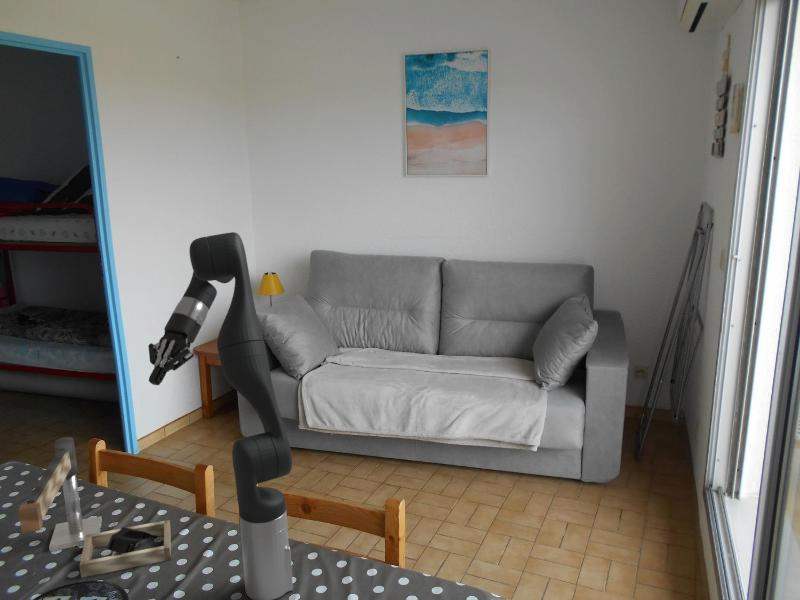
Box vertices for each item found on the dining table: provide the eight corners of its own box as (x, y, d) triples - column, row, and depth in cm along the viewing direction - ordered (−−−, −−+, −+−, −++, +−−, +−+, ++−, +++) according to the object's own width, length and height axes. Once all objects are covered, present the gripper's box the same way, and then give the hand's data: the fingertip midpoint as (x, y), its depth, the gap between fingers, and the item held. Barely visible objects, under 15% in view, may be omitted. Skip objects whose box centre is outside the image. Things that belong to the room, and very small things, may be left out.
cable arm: (61, 470, 152) (56, 438, 150) (79, 468, 153) (75, 436, 151) (20, 540, 124) (14, 502, 122) (43, 537, 125) (37, 499, 123)
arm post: (102, 520, 160) (94, 461, 157) (97, 542, 151) (89, 480, 148) (56, 528, 157) (48, 468, 154) (49, 551, 148) (40, 488, 144)
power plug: (166, 536, 151) (127, 530, 141) (154, 570, 149) (113, 566, 139) (149, 530, 154) (110, 524, 144) (137, 564, 151) (96, 559, 141)
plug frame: (170, 531, 155) (169, 519, 154) (170, 559, 144) (169, 547, 143) (87, 546, 149) (86, 534, 149) (81, 577, 138) (79, 565, 138)
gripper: (157, 309, 158) (122, 372, 150) (199, 314, 153) (165, 380, 144) (175, 325, 164) (142, 386, 156) (216, 330, 158) (184, 394, 150)
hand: (153, 383), depth 150 cm, fingers closed
